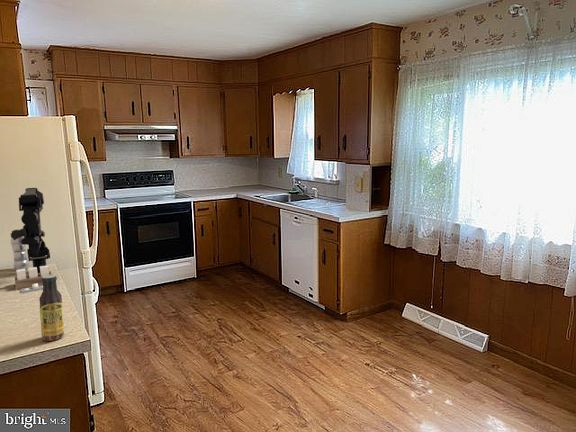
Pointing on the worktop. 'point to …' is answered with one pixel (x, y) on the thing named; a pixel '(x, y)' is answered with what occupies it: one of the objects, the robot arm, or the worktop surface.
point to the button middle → (33, 272)
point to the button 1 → (21, 274)
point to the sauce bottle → (51, 310)
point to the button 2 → (44, 270)
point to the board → (29, 281)
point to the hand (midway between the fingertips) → (35, 255)
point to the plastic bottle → (19, 254)
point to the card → (32, 288)
